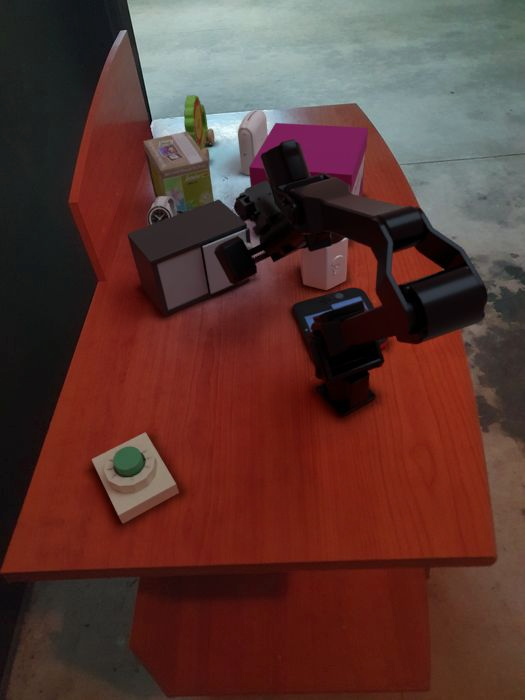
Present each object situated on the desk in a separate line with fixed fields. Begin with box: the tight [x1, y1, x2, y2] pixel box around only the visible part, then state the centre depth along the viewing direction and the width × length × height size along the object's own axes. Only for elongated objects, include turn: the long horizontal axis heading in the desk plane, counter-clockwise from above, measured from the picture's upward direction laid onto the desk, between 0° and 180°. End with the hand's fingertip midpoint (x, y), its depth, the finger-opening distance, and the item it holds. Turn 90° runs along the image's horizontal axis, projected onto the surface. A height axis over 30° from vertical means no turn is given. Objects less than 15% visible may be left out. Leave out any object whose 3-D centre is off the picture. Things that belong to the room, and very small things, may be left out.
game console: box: [292, 287, 389, 350], centre depth 94 cm, size 14×13×2 cm
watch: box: [146, 196, 177, 226], centre depth 110 cm, size 6×8×11 cm
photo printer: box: [237, 109, 269, 176], centre depth 132 cm, size 10×4×12 cm, turn 160°
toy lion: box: [183, 94, 215, 162], centre depth 136 cm, size 16×5×15 cm, turn 176°
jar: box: [299, 232, 349, 291], centre depth 101 cm, size 9×8×12 cm
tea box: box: [143, 131, 215, 215], centre depth 118 cm, size 15×10×15 cm, turn 22°
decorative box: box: [249, 122, 369, 242], centre depth 114 cm, size 19×19×15 cm
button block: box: [91, 431, 180, 525], centre depth 75 cm, size 10×8×4 cm
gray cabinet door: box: [202, 227, 256, 294], centre depth 98 cm, size 4×9×10 cm, turn 122°
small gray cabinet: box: [126, 199, 251, 318], centre depth 102 cm, size 10×18×12 cm, turn 122°
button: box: [113, 446, 144, 477], centre depth 74 cm, size 4×4×2 cm
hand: (254, 255), depth 95 cm, fingers open, 9 cm apart
